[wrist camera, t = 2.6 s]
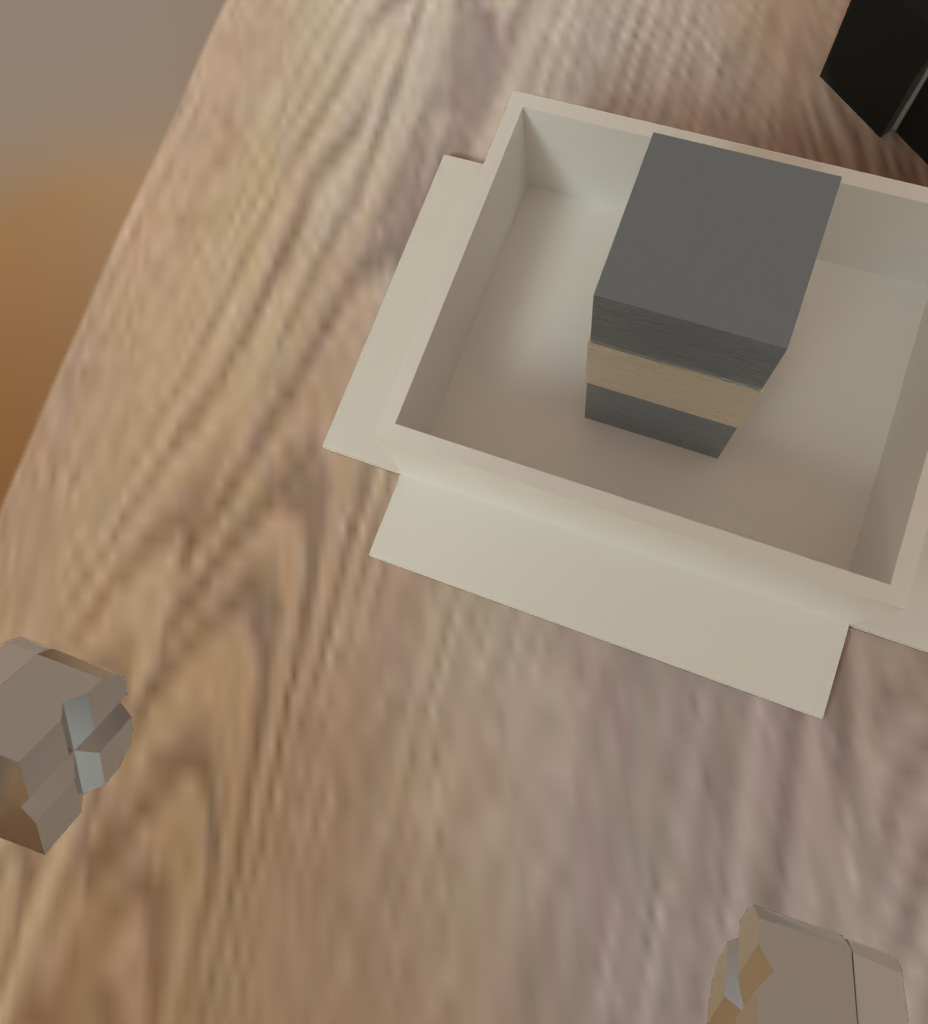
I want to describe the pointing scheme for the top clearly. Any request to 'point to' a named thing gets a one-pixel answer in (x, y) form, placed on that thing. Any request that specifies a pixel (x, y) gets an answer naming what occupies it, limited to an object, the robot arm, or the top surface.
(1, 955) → the top surface
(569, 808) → the top surface
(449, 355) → the box
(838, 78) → the book
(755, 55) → the top surface
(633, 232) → the tea tin
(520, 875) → the top surface
